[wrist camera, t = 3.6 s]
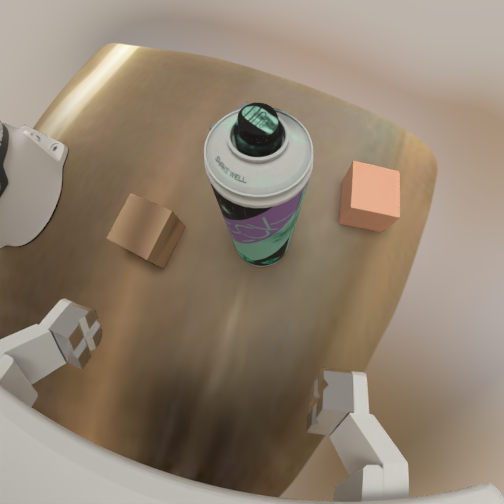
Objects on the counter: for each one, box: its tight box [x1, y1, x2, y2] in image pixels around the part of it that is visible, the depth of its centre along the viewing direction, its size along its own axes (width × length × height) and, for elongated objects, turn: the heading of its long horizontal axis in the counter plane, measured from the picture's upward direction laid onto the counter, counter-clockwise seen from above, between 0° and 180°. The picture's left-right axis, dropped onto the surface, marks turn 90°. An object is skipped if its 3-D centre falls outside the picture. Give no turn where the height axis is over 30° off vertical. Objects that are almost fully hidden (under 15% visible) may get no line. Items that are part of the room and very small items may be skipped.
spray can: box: [204, 103, 313, 267], centre depth 21 cm, size 6×6×20 cm
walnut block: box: [107, 193, 185, 269], centre depth 29 cm, size 5×5×5 cm
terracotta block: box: [339, 161, 400, 232], centre depth 29 cm, size 5×5×5 cm
